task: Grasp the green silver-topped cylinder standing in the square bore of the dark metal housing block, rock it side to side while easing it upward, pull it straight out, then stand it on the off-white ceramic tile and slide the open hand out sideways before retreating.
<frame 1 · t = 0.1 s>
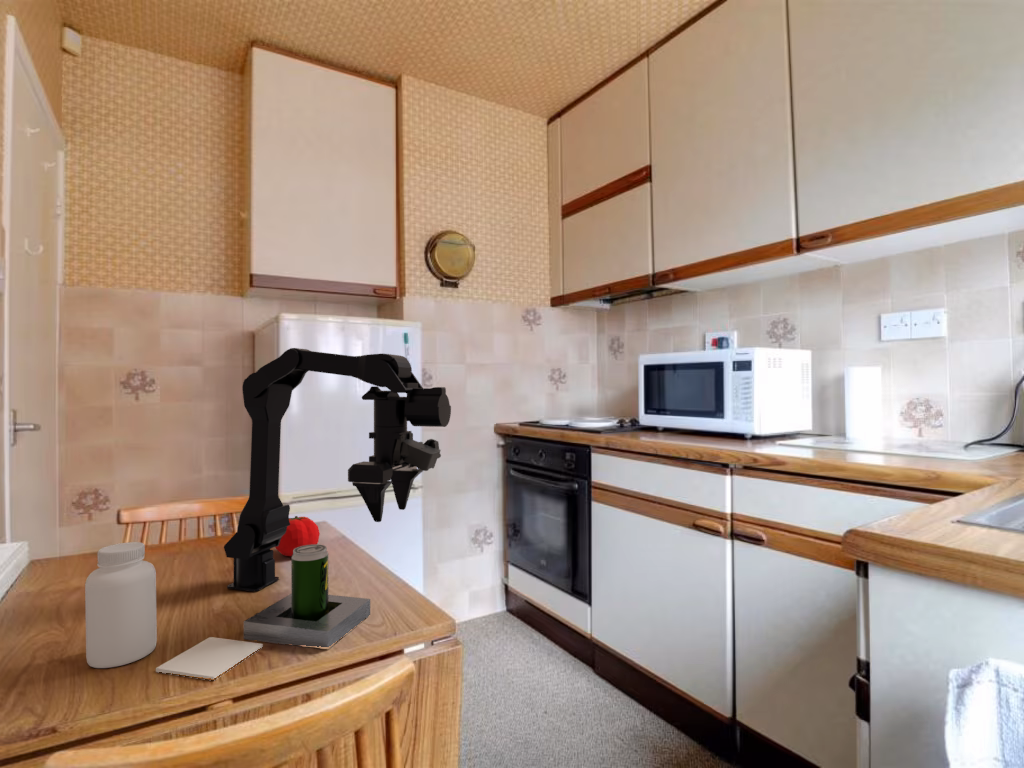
hand: (390, 515, 94), 15 cm above the table, fingers open, 9 cm apart
tomato: (295, 555, 120), on the table
housing: (310, 626, 83), on the table
tile: (211, 659, 73), on the table
pill bottle: (122, 656, 75), on the table
green silver-topped cylinder: (310, 627, 83), resting in housing
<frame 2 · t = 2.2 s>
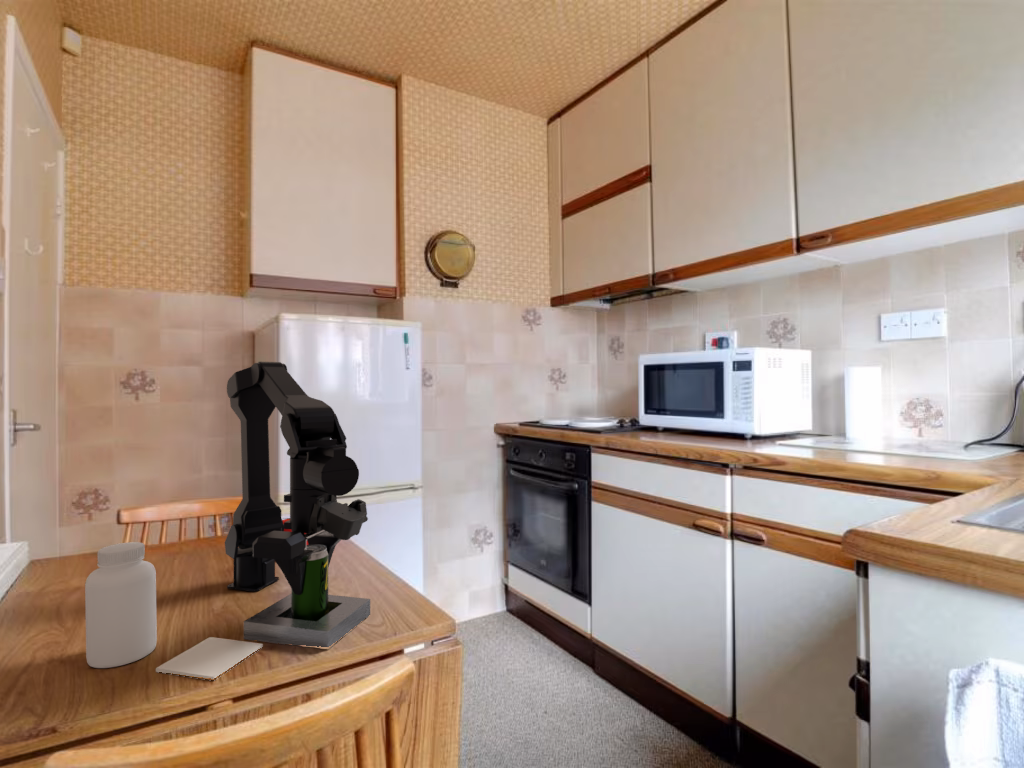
hand: (309, 587, 83), 6 cm above the table, fingers closed on green silver-topped cylinder, 5 cm apart
green silver-topped cylinder: (310, 627, 83), resting in housing, touching gripper
everything else where it was.
when the fingers open (7 cm above the table, at t = 6.6 s): green silver-topped cylinder stays where it is, resting on tile.
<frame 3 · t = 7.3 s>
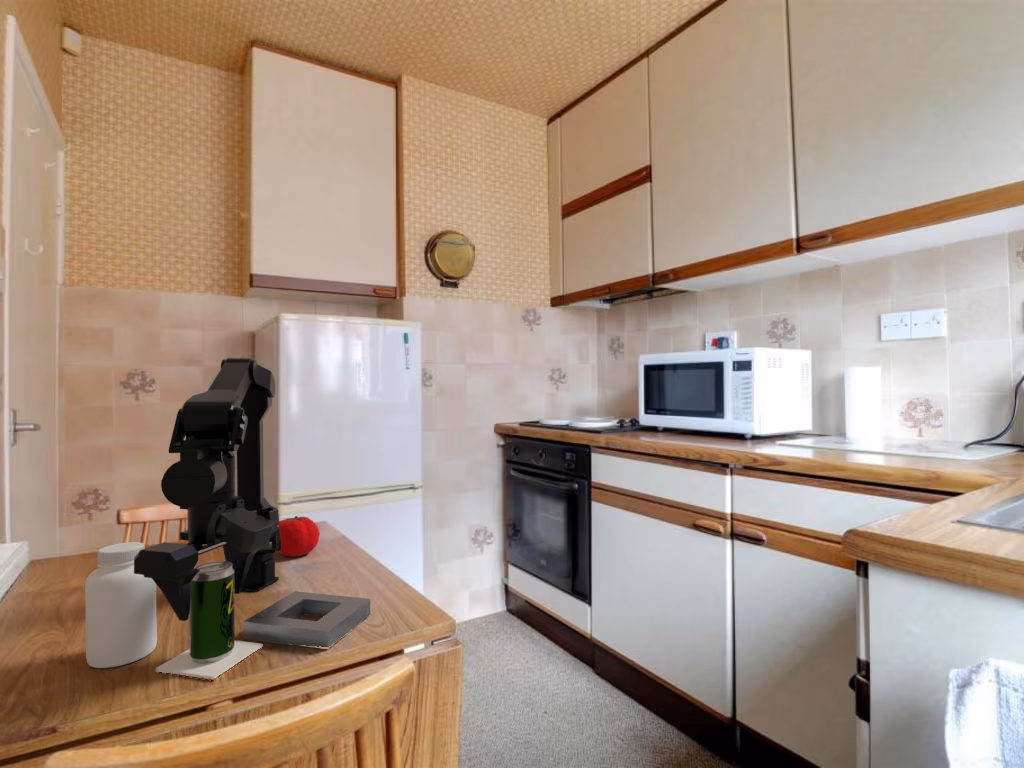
hand: (211, 606, 74), 7 cm above the table, fingers open, 9 cm apart
green silver-topped cylinder: (212, 656, 74), resting on tile
everything else where it was.
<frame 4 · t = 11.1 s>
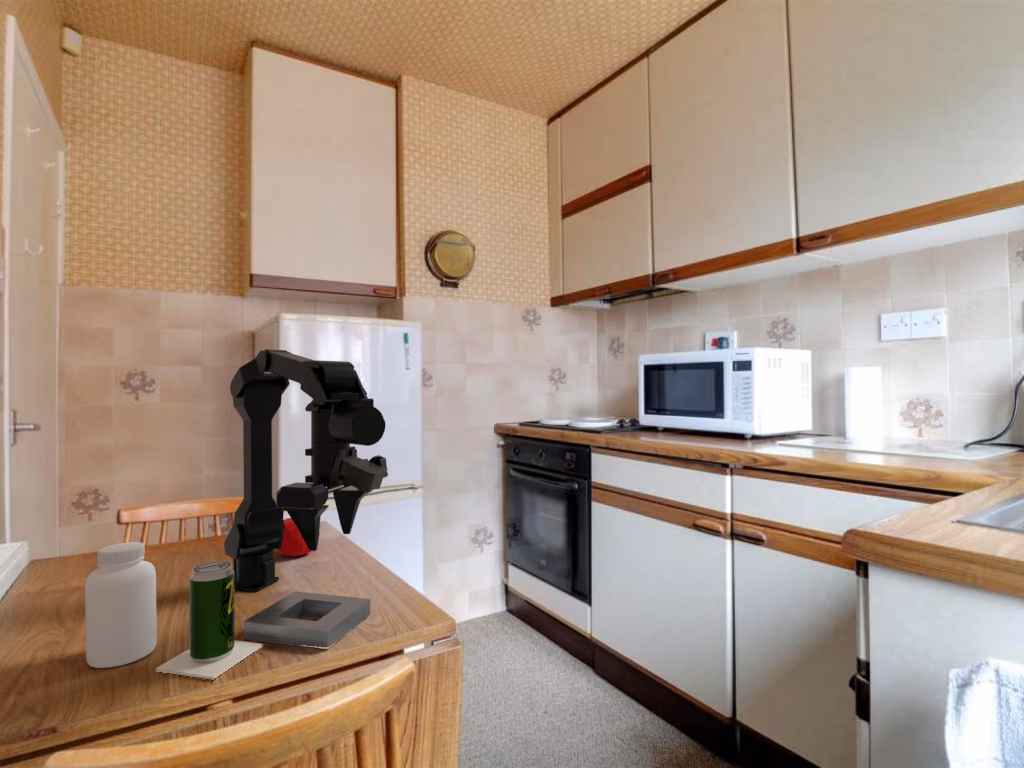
hand: (330, 541, 84), 13 cm above the table, fingers open, 9 cm apart
nothing on the table moved.
at the end: green silver-topped cylinder inside the target area on the tile (0.1 cm from its centre), point 0.3 cm above the tile's base; green silver-topped cylinder tilted 0°; the gripper is holding nothing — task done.
